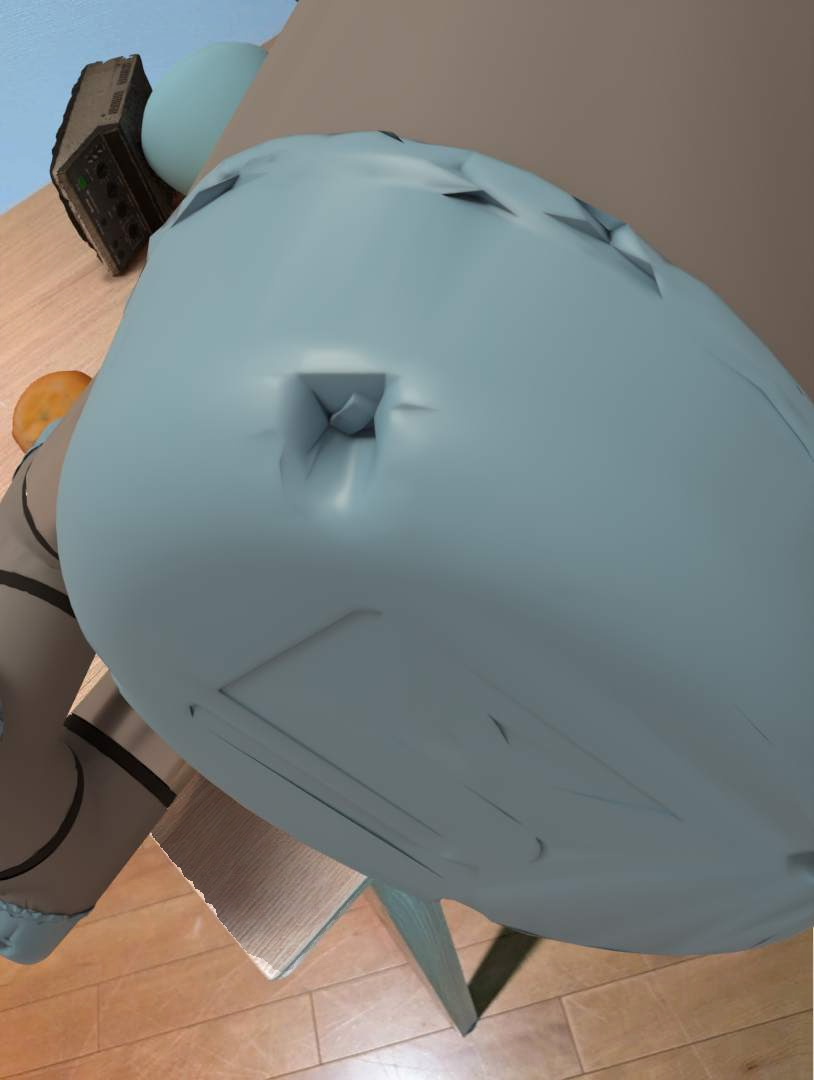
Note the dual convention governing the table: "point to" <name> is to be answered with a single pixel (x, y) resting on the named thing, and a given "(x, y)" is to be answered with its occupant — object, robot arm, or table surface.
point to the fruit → (45, 404)
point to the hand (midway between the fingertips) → (407, 417)
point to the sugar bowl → (196, 108)
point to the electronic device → (109, 163)
